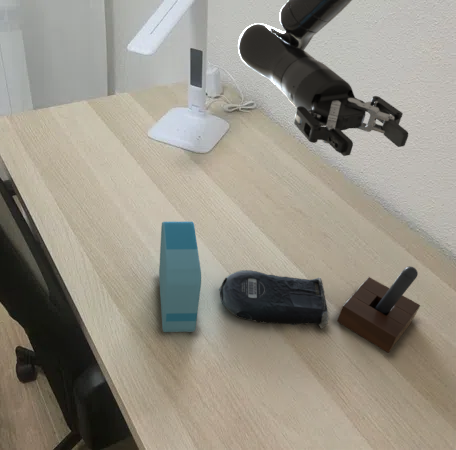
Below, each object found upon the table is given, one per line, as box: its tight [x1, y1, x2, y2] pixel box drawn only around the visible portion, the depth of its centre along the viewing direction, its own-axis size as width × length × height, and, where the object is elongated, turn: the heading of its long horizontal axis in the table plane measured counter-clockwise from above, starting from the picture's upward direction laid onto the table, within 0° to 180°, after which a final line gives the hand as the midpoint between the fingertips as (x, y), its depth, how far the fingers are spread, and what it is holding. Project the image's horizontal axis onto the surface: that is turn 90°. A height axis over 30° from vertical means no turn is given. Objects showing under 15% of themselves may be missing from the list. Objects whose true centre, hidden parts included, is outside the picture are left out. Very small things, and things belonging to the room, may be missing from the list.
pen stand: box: [336, 276, 421, 353], centre depth 80 cm, size 8×8×4 cm
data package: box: [158, 221, 202, 333], centre depth 78 cm, size 12×4×12 cm, turn 2°
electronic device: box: [218, 269, 330, 329], centre depth 81 cm, size 9×6×15 cm
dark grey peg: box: [374, 266, 419, 315], centre depth 76 cm, size 2×2×13 cm
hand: (377, 145), depth 73 cm, fingers open, 8 cm apart
